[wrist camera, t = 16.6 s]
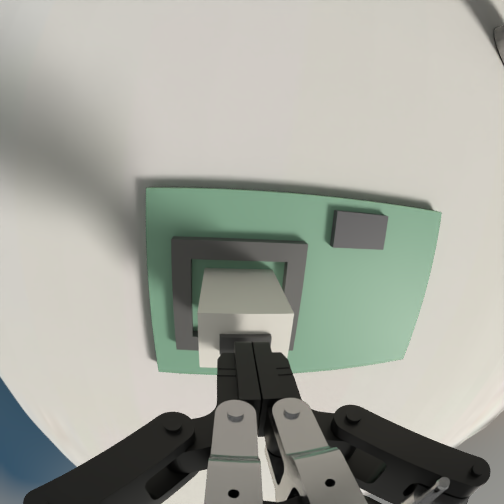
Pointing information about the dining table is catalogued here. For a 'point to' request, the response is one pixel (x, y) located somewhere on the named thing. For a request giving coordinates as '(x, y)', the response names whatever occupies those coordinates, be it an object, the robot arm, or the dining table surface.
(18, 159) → the dining table surface
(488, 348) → the dining table surface
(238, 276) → the plug
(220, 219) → the board
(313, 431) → the robot arm
